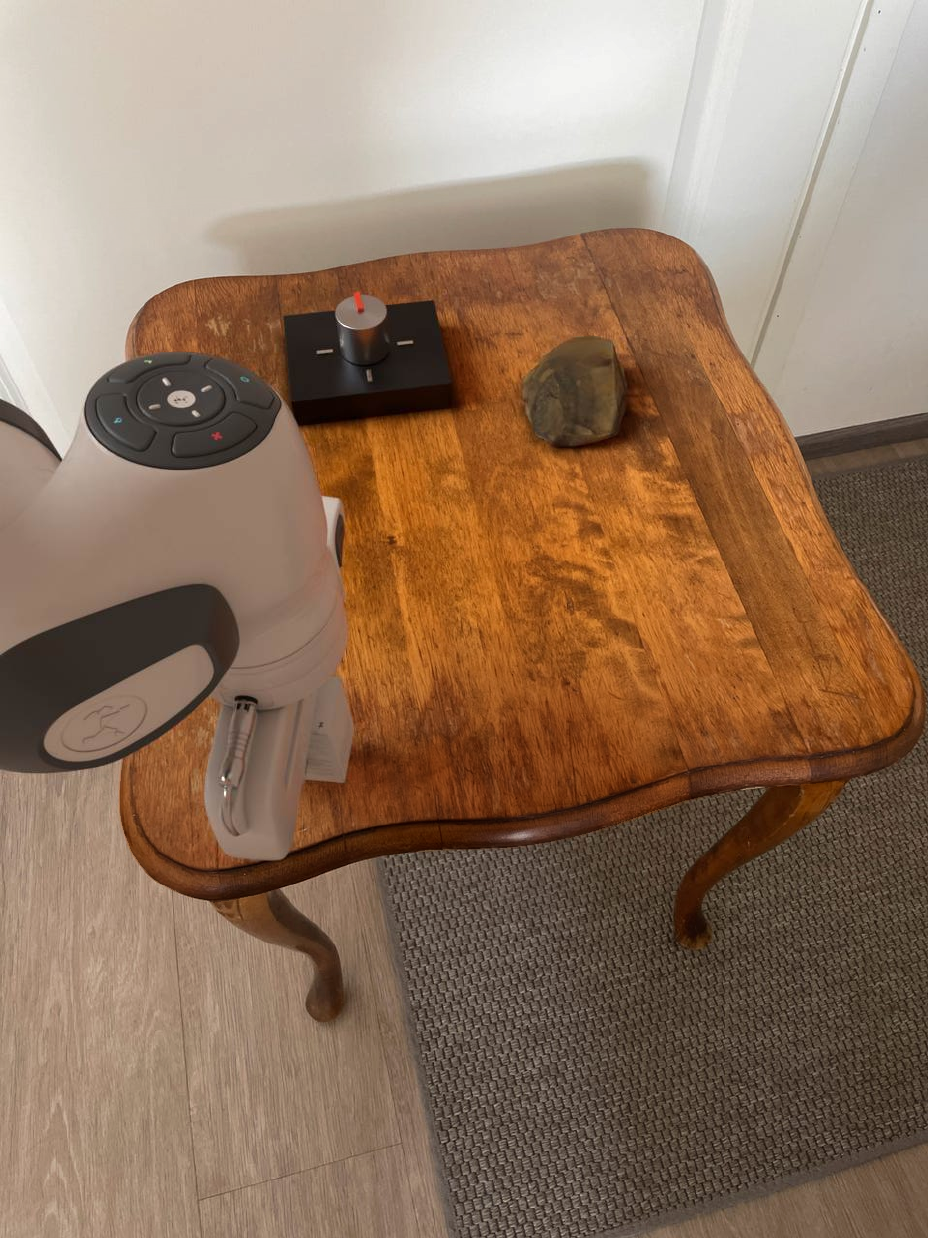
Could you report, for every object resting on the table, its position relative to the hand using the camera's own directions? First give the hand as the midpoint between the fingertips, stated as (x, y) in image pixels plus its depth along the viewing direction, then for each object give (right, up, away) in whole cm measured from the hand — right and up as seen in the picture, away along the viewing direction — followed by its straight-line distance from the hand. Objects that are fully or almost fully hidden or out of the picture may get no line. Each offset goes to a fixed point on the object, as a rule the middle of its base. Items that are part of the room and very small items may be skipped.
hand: (300, 732), depth 59 cm
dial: (+2, +32, +22) cm, 38 cm away
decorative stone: (+21, +26, +23) cm, 40 cm away
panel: (+2, +30, +24) cm, 39 cm away
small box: (0, -2, +3) cm, 3 cm away
